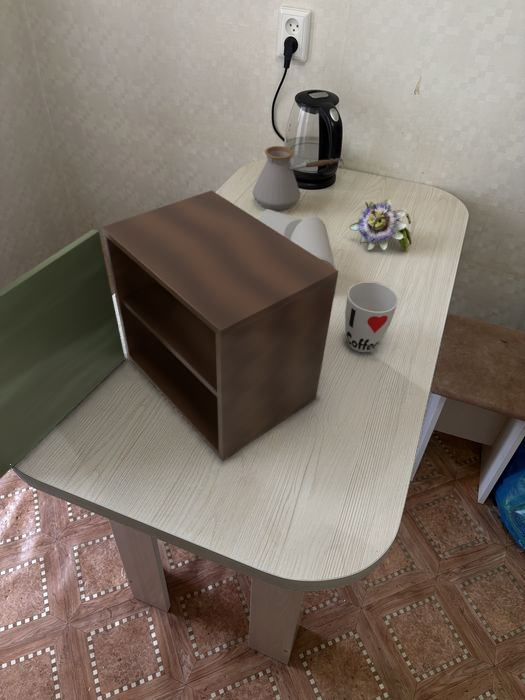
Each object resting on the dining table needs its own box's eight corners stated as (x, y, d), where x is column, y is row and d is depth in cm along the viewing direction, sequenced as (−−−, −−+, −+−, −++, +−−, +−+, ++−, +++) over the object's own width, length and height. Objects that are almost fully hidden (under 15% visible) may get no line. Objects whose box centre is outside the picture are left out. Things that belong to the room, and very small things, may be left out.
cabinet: (223, 461, 69) (220, 330, 53) (127, 356, 83) (101, 227, 66) (316, 399, 78) (338, 270, 61) (215, 314, 92) (211, 190, 75)
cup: (332, 350, 86) (341, 304, 79) (345, 322, 92) (354, 276, 85) (379, 364, 84) (392, 318, 77) (389, 334, 90) (402, 289, 83)
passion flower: (366, 270, 113) (341, 228, 107) (379, 239, 119) (355, 198, 113) (413, 259, 106) (389, 214, 100) (424, 227, 112) (402, 182, 106)
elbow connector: (360, 254, 106) (275, 228, 112) (365, 214, 97) (273, 188, 103) (325, 314, 97) (236, 281, 103) (328, 276, 89) (230, 243, 95)
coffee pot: (243, 206, 121) (244, 144, 111) (267, 188, 128) (270, 128, 118) (323, 233, 114) (332, 169, 103) (343, 212, 121) (354, 150, 111)
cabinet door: (-45, 457, 68) (-134, 323, 51) (88, 342, 85) (53, 214, 68) (-3, 482, 65) (-82, 349, 49) (125, 359, 82) (99, 230, 66)
